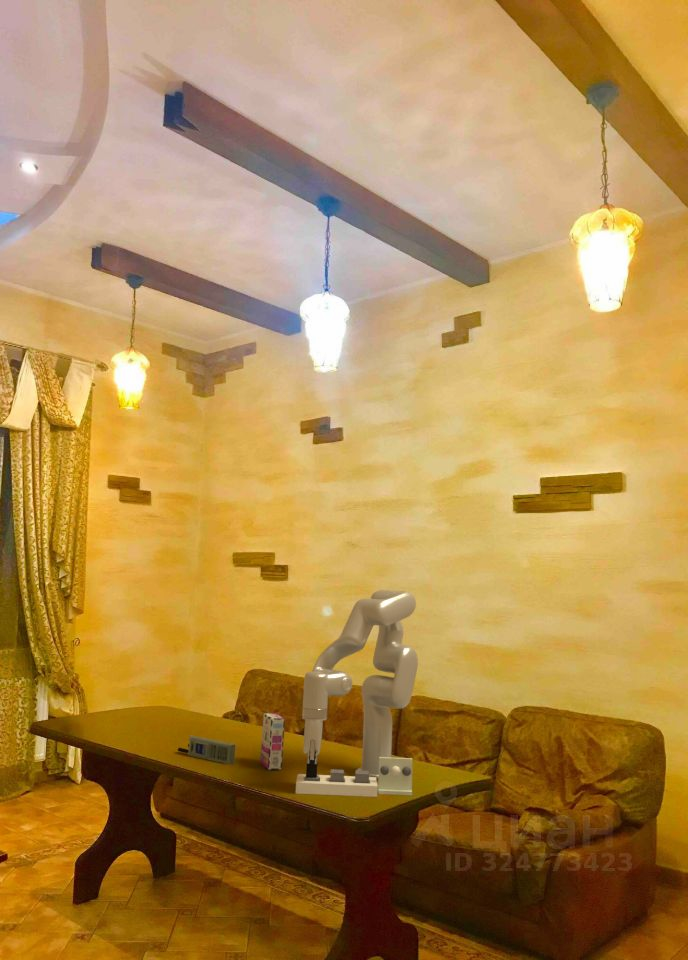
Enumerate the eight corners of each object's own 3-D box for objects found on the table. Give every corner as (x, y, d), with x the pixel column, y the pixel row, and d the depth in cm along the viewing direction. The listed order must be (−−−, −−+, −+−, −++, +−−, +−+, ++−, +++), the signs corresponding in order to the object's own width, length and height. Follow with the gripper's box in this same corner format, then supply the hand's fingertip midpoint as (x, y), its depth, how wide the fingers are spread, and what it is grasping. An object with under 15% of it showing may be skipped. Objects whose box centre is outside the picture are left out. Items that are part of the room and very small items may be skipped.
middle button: (343, 781, 217) (343, 769, 218) (343, 784, 213) (343, 773, 214) (330, 780, 217) (330, 769, 218) (330, 784, 213) (330, 772, 214)
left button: (318, 786, 217) (318, 775, 217) (318, 790, 213) (318, 778, 213) (305, 786, 217) (305, 774, 217) (304, 789, 213) (305, 778, 213)
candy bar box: (282, 770, 236) (285, 718, 239) (268, 770, 235) (271, 718, 237) (274, 762, 247) (276, 712, 249) (259, 762, 245) (262, 712, 247)
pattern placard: (410, 791, 217) (411, 757, 218) (412, 795, 213) (412, 760, 215) (377, 790, 217) (378, 756, 218) (378, 793, 213) (379, 758, 215)
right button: (368, 782, 217) (368, 770, 218) (368, 785, 213) (369, 774, 214) (354, 781, 217) (355, 770, 218) (355, 785, 213) (355, 773, 214)
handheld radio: (228, 765, 240) (174, 753, 253) (235, 764, 243) (181, 752, 256) (230, 744, 241) (176, 734, 254) (237, 743, 244) (183, 733, 257)
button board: (375, 787, 220) (375, 777, 220) (377, 796, 210) (377, 786, 210) (297, 784, 220) (298, 774, 220) (295, 793, 210) (296, 782, 210)
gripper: (303, 709, 225) (300, 770, 223) (301, 717, 211) (297, 783, 208) (327, 710, 225) (324, 771, 223) (326, 718, 211) (323, 784, 208)
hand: (311, 776), depth 215 cm, fingers closed
